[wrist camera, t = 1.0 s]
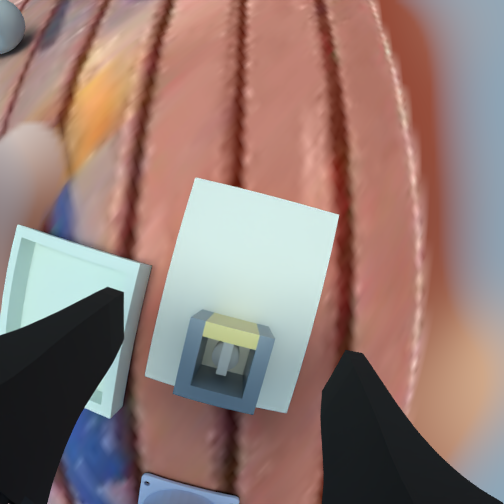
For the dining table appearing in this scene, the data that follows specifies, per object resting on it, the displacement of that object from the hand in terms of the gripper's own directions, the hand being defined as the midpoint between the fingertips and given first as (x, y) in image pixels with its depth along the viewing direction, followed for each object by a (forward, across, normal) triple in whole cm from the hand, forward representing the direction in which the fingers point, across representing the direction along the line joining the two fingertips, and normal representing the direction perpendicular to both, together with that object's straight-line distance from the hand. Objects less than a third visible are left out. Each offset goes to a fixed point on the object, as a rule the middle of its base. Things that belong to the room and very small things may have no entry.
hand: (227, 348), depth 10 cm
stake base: (+11, 0, +5) cm, 12 cm away
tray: (+8, +12, +9) cm, 17 cm away
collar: (+8, 0, +8) cm, 11 cm away
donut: (+21, +35, -12) cm, 43 cm away
